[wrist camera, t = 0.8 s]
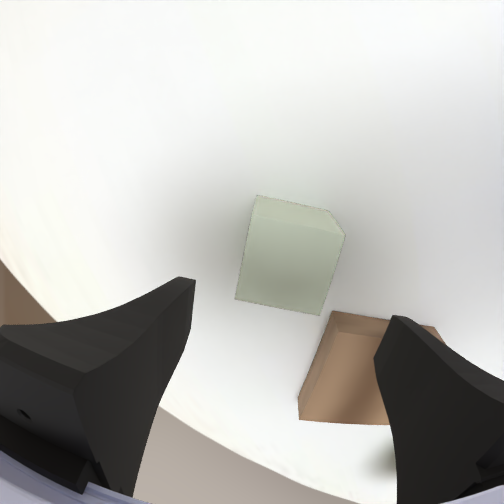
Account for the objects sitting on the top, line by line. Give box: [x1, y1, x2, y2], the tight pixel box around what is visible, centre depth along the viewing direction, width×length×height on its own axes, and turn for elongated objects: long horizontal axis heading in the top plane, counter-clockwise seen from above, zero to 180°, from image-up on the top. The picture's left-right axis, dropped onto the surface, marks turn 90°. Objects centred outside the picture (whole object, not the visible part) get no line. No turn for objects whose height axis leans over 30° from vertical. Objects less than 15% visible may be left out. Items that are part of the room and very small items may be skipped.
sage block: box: [235, 195, 345, 316], centre depth 18 cm, size 4×4×5 cm
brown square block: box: [298, 311, 446, 425], centre depth 22 cm, size 9×9×3 cm
